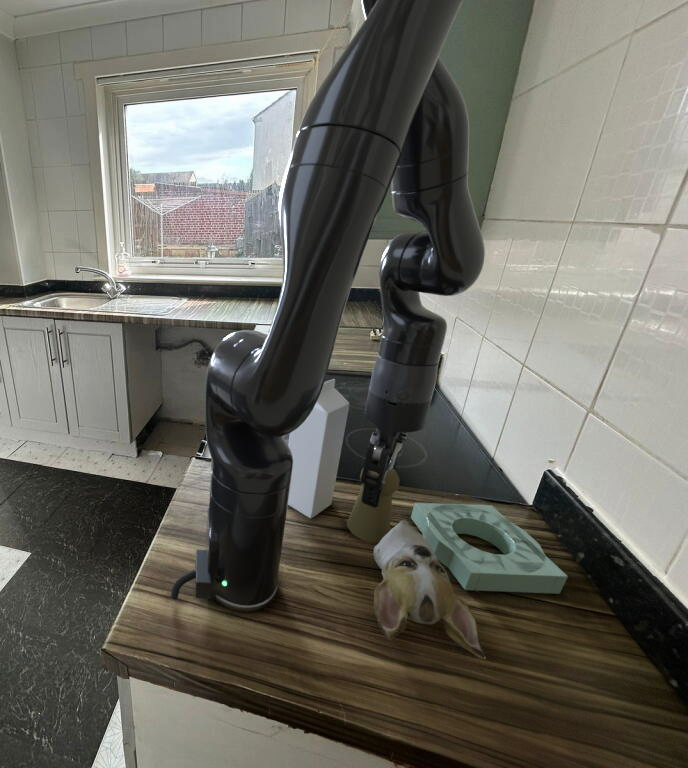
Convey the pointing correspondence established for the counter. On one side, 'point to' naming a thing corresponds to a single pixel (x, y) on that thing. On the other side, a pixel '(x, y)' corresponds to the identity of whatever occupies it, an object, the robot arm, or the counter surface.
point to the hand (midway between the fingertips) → (377, 490)
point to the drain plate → (482, 569)
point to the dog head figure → (419, 590)
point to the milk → (317, 452)
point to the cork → (374, 512)
